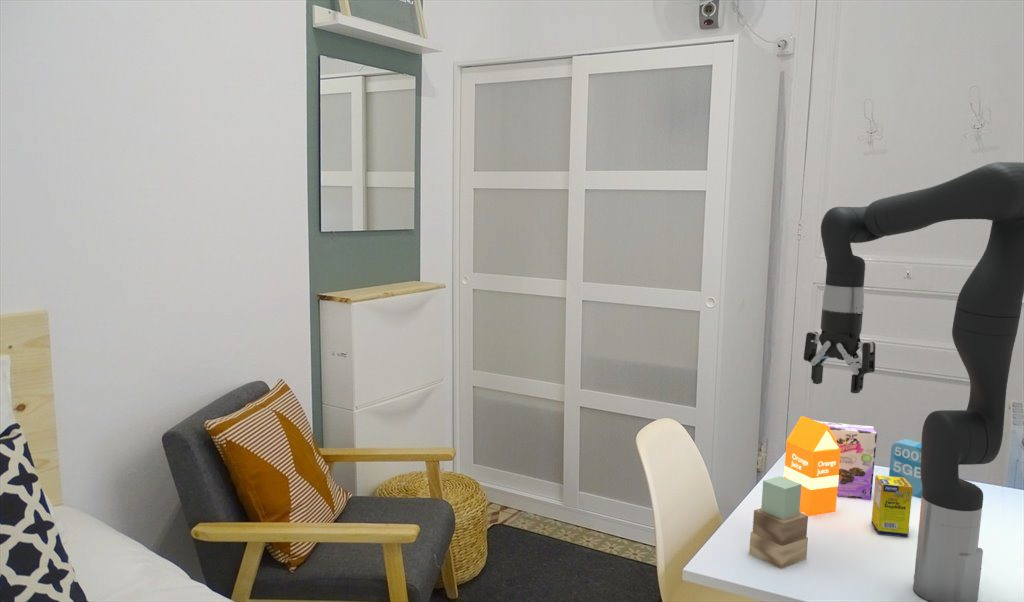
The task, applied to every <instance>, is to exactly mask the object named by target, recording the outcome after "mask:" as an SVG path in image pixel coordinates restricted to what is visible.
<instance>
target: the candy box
mask: <svg viewBox="0 0 1024 602" xmlns="http://www.w3.org/2000/svg"><path fill="white" fill-rule="evenodd" d="M813 420H814V419H813ZM814 421H817V422H820V423H822V424H825V425H827V426H829V428H830V430H831V432H832V434H833V436H834V438H835V440H836V442H837V444H838V446H839V448H840V449H841V452H840V464H839V480H838V489H837V497H843V498H844V497H845V498H851V499H858V500H859V499H860V500H869V501H871V500H872V494H873V482H874V471H875V462H876V461H875V460H876V450H877V449H876V448H877V439H878V433H877V431H876V429H875V427H874V426H872V425H859V424H850V423H841V422H830V421H821V420H814Z"/></svg>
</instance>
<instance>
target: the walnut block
mask: <svg viewBox="0 0 1024 602" xmlns="http://www.w3.org/2000/svg"><path fill="white" fill-rule="evenodd" d="M808 520H809V516H808V515H806V514H804V513H802V512H800V513H799V514H798V515H795V516H793V517H790V518H787V519H784V520H783V519H780V518H778V517H775V516H773V515H770V514H768V513H766V512H763V511H761V508H758V509H754V510H753V520H752V531H753V533H755V534H757V535H759V536H761V537H763V538H766V539H768V540H770V541H772V542H774V543H776V544H778V545H781V546H784V545H787V544H791V543H794V542H797V541H800V540H803V539H806V537H807V533H808V522H809V521H808Z"/></svg>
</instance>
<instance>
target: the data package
mask: <svg viewBox="0 0 1024 602" xmlns="http://www.w3.org/2000/svg"><path fill="white" fill-rule="evenodd" d="M889 461H890V462H889V472H888V473H889V474H888V476H892V477H903V478H905V479H906V480H907V481H908V482H909V484H910V485H911V486H912V487H913V489H912V497H916V498H919V499H922V482H921V475H920V468H921V442H919V441H915V440H911V439H905V438H903V439H900V440H898V441H895V442H893V444H892V445H891V450H890V460H889Z"/></svg>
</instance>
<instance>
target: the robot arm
mask: <svg viewBox="0 0 1024 602" xmlns="http://www.w3.org/2000/svg"><path fill="white" fill-rule="evenodd" d="M955 220H987V221H990V222H991V227H990V231H989V232H990V233H989V237H988V241H987V244H986V248H985V250H984V252H983V254H982V256H981V257H980V259H979V261H978V263H977V264H976V265H975V267H974V268H973V270H972V271H971V273H970V274H969V276H968V278H967V279H966V281H965V282H964V284H963V286H962V287H961V290H960V291H959V295H958V296H957V300H956V304H955V310H954V315H953V323H952V328H951V330H952V331H951V336H952V341H953V345H954V347H955V349H956V351H957V353H958V355H959V357H960V359H961V362H962V363H963V365H964V367H965V370H966V372H967V374H968V379H969V386H970V388H969V389H970V390H969V399H968V404H967V407H966V409H964V410H962V409H960V410H958V409H957V410H956V409H955V410H954V409H950V410H949V409H948V410H946V409H945V410H942V409H941V410H935V411H931V412H930V413H929V414H928V415H927V417H926V418H925V419H924V422H923V425H922V432H921V442H920V443H921V468H920V475H921V482H922V498H921V502H920V512H919V520H918V521H919V522H918V523H919V524H918V530H917V531H918V534H917V540H916V541H917V542H916V551H915V552H916V555H915V564H914V572H913V573H914V575H913V584H912V585H913V587H912V589H913V591H914V592H915V593H916V595H918V596H920V597H921V598H923V599H925V600H927V601H929V602H978V600H979V593H980V585H981V584H980V581H981V574H982V564H983V555H984V551H983V550H984V549H982V547H979V541H980V530H981V524H982V523H981V521H982V512H983V503H984V491H983V490H982V489H981V488H980V487H979V486H978V485H976V484H974V483H972V482H970V481H967V480H965V479H963V478H960V477H959V472H960V471H959V466H960V465H962V466H963V465H964V466H966V465H968V466H970V465H972V466H973V465H986V464H987V465H988V464H989V463H992V462H993V461H994V460H995V459H996V458H997V456H998V455H999V453H1000V451H1001V447H1002V443H1003V436H1004V427H1005V425H1004V424H1005V414H1006V402H1007V401H1006V398H1007V388H1008V382H1009V376H1010V367H1011V363H1012V362H1011V361H1012V356H1013V350H1014V347H1015V342H1016V338H1017V334H1018V329H1019V326H1020V325H1019V323H1020V320H1021V319H1020V318H1021V314H1022V307H1023V306H1022V305H1023V300H1024V162H1017V161H1016V162H1012V161H1011V162H1009V161H1006V162H1003V161H997V162H992V163H988V164H985V165H982V166H980V167H978V168H976V169H975V168H974V169H972V170H971V171H968V172H965V173H964V174H962V175H959V176H957V177H955V178H953V179H950V180H948V181H946V182H943V183H940V184H937V185H934V186H931V187H927V188H922V189H918V190H914V191H913V190H912V191H909V192H904V193H899V194H895V195H892V196H888V197H883V198H879V199H877V200H874V201H873V202H871V203H870V204H869V205H866V206H858V207H857V206H835V207H832V208H829V209H828V210H827V211H826V212H825V214H824V216H823V218H822V220H821V224H820V236H821V241H822V242H821V243H822V247H823V252H824V257H825V261H826V270H825V273H826V274H825V285H824V288H823V289H824V290H823V295H822V306H821V317H820V329H821V333H819V332H818V331H811V332H809V331H808V332H807V333H806V336H805V337H806V338H805V344H804V351H803V360H804V361H805V362H806V361H807V362H809V364H810V365H811V376H810V379H811V381H812V384H814V385H820V384H822V383H823V376H824V375H823V374H824V365H823V364H824V362H825V361H827V359H829V358H831V359H837V360H840V361H845V363H846V365H847V366H848V367H850V370H851V371H852V373H853V374H851V381H850V393H851V394H860V392H861V391H863V388H864V379H865V378H864V377H865V375H866V374H871V373H874V372H875V369H876V343H875V342H874V341H867V342H866V341H861V338H860V336H861V333H862V326H863V316H864V303H865V293H864V290H865V287H864V286H865V275H866V262H865V260H864V258H862V257H860V256H858V255H854V254H853V250H852V245H851V244H862V243H863V244H864V243H868V242H872V241H876V240H878V239H881V238H884V237H888V236H889V237H890V236H895V235H900V234H905V233H910V232H915V231H919V230H921V229H924V228H927V227H929V226H932V225H934V224H937V223H941V222H946V221H955ZM819 343H820V344H821V348H820V349H819V350H818V345H819ZM859 349H860V352H861V355H860V354H859Z"/></svg>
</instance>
